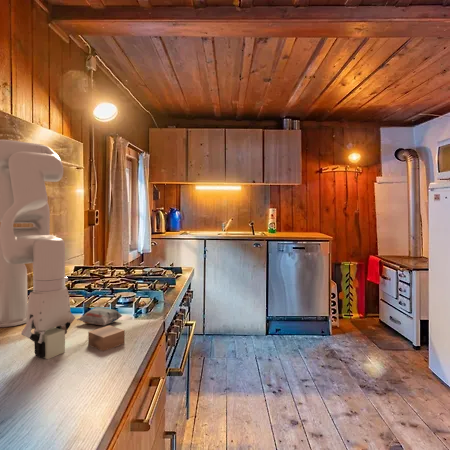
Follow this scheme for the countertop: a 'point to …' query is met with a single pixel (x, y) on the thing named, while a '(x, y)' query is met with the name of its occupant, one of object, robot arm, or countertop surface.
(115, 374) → the countertop surface
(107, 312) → the packaged food
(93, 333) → the walnut base
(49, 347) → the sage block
